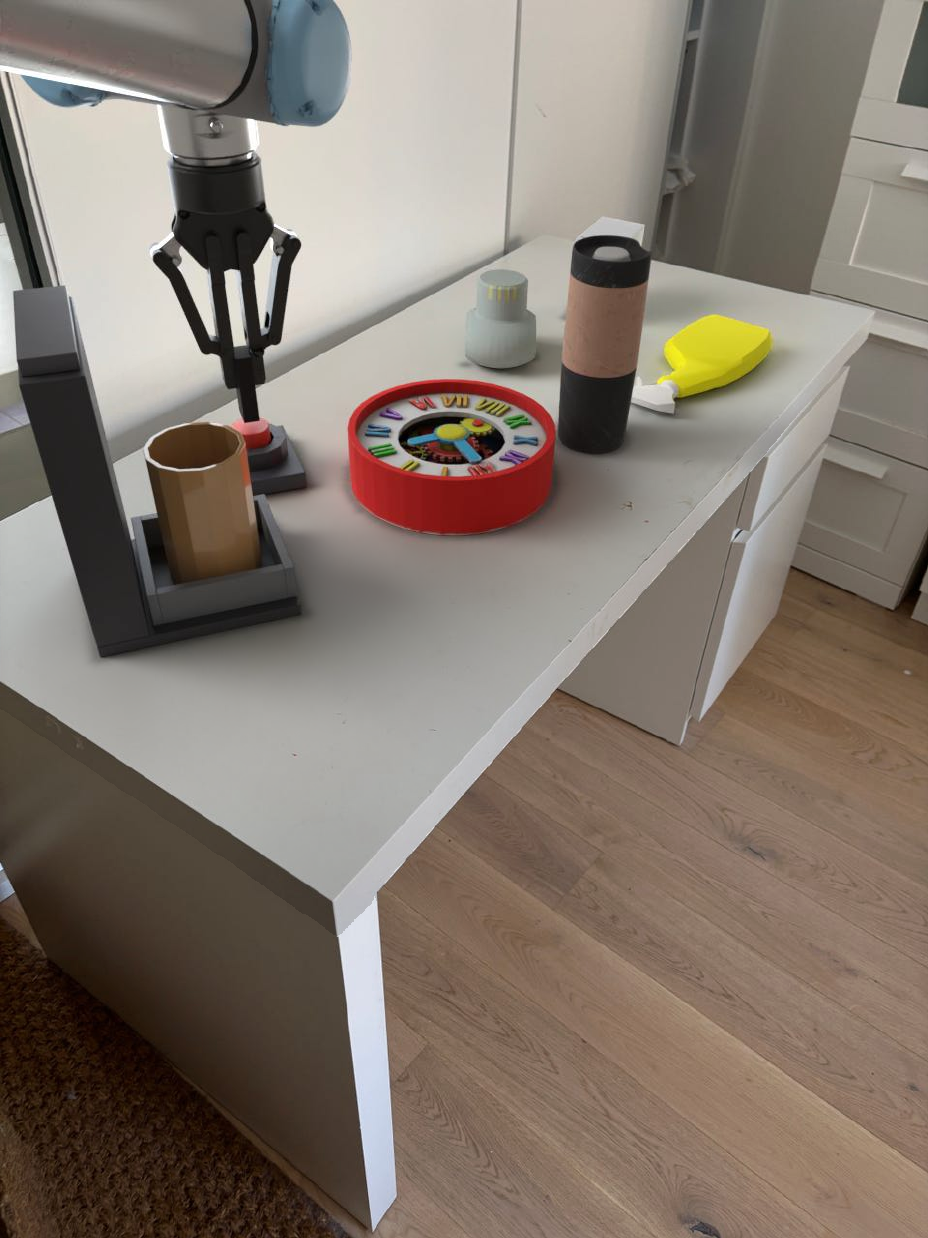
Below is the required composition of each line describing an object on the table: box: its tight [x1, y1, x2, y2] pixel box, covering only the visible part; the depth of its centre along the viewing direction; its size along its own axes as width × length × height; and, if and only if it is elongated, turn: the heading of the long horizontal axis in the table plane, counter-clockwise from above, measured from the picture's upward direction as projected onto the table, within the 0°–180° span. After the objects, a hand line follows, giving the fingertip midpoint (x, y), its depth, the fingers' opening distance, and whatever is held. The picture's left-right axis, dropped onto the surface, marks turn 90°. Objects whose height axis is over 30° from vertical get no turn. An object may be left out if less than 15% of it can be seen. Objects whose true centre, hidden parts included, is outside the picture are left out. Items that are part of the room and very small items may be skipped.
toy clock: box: [347, 378, 557, 536], centre depth 95 cm, size 20×6×20 cm
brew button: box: [231, 417, 271, 449], centre depth 95 cm, size 4×4×2 cm
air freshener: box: [464, 268, 537, 369], centre depth 115 cm, size 11×8×10 cm
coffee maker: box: [12, 285, 303, 658], centre depth 75 cm, size 14×16×24 cm
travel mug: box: [557, 235, 653, 454], centre depth 97 cm, size 8×8×20 cm
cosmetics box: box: [574, 216, 645, 247], centre depth 127 cm, size 10×6×10 cm, turn 155°
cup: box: [142, 421, 262, 585], centre depth 79 cm, size 8×8×12 cm
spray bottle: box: [631, 313, 774, 414], centre depth 115 cm, size 3×11×24 cm
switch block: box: [246, 422, 308, 496], centre depth 96 cm, size 10×8×4 cm
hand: (249, 415), depth 93 cm, fingers closed
